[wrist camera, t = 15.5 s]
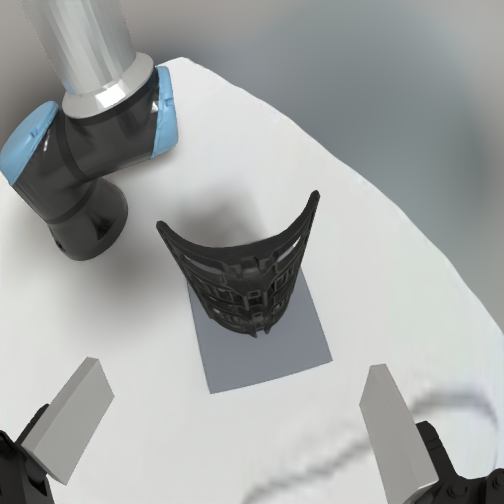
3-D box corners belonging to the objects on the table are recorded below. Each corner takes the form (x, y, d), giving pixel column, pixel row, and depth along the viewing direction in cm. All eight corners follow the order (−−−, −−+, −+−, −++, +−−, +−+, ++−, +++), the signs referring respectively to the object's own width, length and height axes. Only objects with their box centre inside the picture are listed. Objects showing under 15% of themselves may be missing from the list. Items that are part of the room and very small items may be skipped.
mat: (185, 264, 39) (183, 261, 38) (288, 238, 40) (288, 235, 39) (211, 393, 30) (210, 393, 29) (331, 361, 31) (332, 360, 30)
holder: (280, 265, 37) (287, 147, 19) (308, 315, 33) (349, 225, 16) (202, 300, 35) (140, 205, 17) (225, 354, 32) (170, 306, 14)
